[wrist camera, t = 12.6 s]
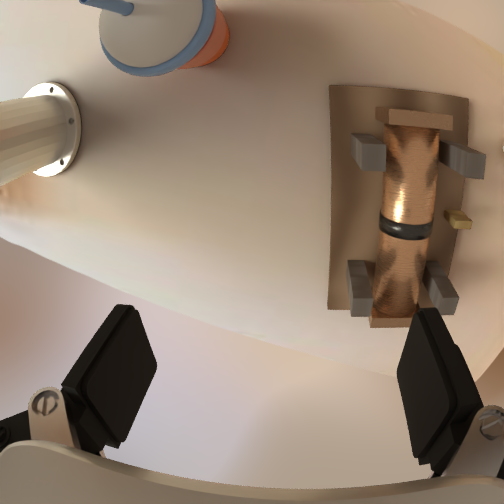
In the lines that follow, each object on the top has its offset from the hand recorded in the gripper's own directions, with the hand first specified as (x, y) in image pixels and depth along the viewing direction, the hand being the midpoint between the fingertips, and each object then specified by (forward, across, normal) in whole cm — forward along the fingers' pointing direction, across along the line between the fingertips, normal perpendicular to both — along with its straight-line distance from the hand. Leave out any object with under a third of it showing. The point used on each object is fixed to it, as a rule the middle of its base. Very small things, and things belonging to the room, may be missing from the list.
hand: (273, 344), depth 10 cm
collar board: (+23, -11, +4) cm, 26 cm away
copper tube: (+22, -11, +4) cm, 25 cm away
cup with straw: (+24, +8, -14) cm, 29 cm away
